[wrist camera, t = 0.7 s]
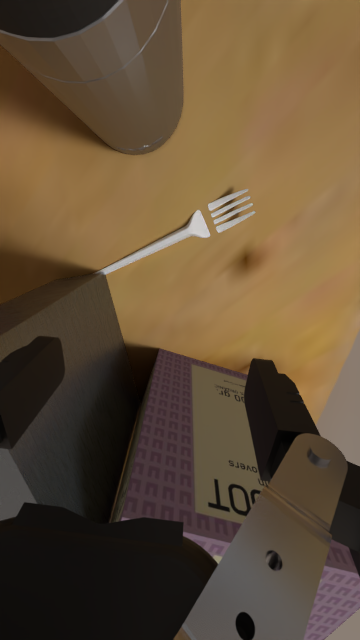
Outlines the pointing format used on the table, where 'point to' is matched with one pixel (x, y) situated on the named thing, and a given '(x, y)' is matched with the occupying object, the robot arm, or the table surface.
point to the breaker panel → (72, 402)
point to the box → (212, 473)
